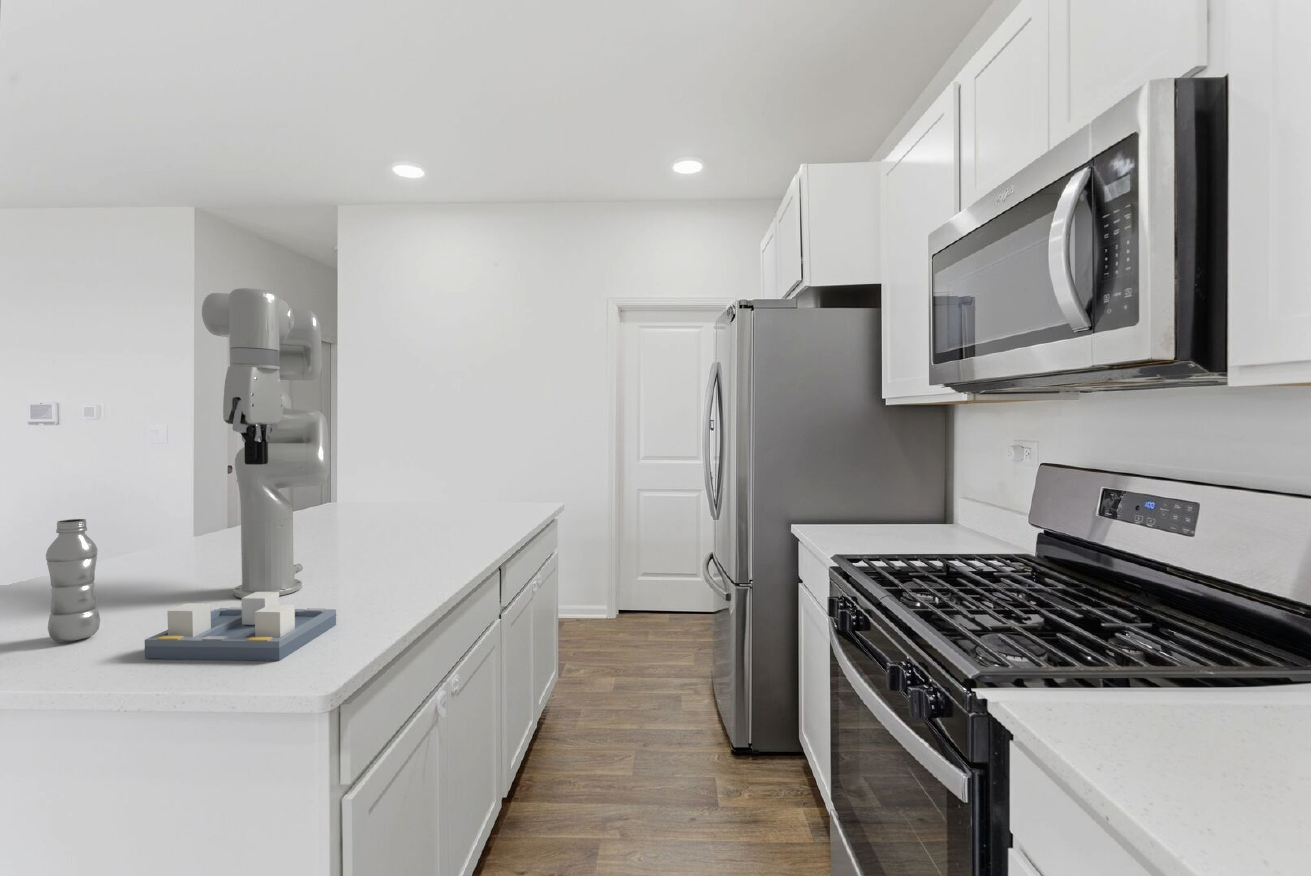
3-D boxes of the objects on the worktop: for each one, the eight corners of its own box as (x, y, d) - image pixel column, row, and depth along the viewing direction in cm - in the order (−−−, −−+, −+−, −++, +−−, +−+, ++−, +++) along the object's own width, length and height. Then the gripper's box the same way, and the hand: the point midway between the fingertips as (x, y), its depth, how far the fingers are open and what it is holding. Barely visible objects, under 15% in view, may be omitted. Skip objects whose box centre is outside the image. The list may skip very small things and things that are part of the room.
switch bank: (221, 623, 116) (220, 605, 116) (336, 624, 116) (335, 607, 116) (144, 658, 99) (144, 638, 99) (279, 660, 99) (279, 640, 99)
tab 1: (186, 630, 106) (186, 603, 105) (210, 630, 106) (210, 603, 105) (168, 638, 102) (167, 610, 101) (192, 639, 102) (192, 611, 101)
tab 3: (270, 631, 105) (270, 604, 105) (294, 631, 105) (294, 604, 105) (255, 639, 101) (254, 611, 101) (280, 640, 101) (279, 612, 101)
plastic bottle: (69, 647, 103) (66, 524, 103) (36, 644, 105) (33, 522, 104) (110, 634, 110) (108, 518, 109) (79, 631, 111) (76, 516, 110)
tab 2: (256, 617, 113) (256, 591, 113) (279, 617, 113) (279, 592, 113) (241, 624, 109) (241, 598, 109) (265, 624, 109) (264, 598, 109)
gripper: (260, 363, 121) (262, 461, 121) (203, 356, 106) (205, 467, 106) (300, 364, 121) (301, 461, 121) (248, 357, 106) (250, 467, 106)
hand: (256, 463), depth 114 cm, fingers closed
